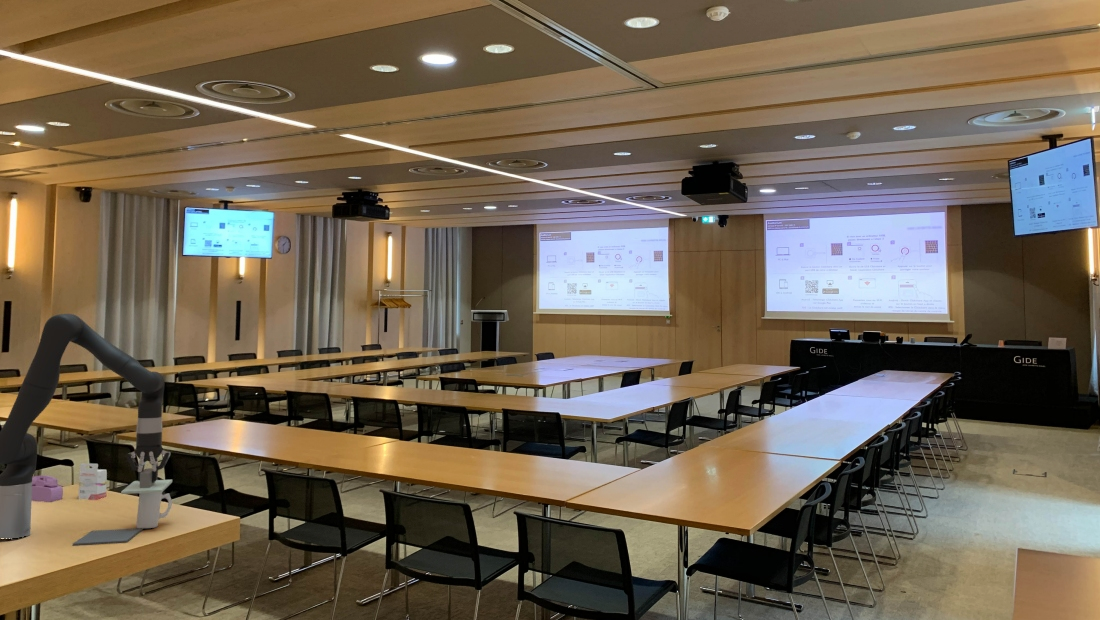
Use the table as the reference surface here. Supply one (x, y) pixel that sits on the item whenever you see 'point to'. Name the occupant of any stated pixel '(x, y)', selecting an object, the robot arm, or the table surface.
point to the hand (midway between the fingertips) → (147, 482)
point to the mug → (151, 509)
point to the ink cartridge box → (92, 482)
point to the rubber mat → (108, 536)
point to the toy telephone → (46, 489)
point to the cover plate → (147, 490)
